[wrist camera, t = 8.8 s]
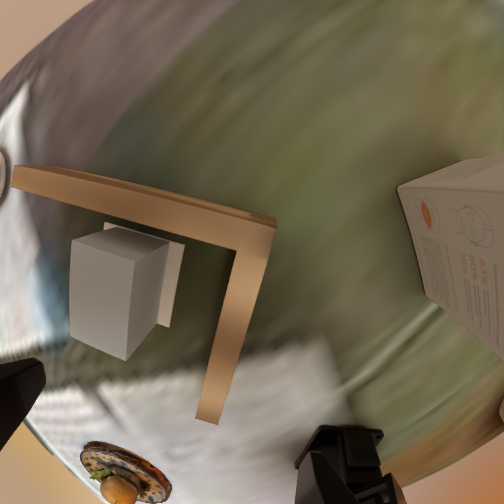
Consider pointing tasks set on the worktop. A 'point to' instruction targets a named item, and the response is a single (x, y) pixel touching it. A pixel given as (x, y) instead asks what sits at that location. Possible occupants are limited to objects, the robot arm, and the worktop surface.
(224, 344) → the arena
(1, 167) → the plastic bottle
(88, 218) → the worktop surface
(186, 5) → the worktop surface
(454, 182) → the small box
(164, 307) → the pad
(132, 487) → the burger
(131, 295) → the block
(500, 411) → the reusable coffee cup
